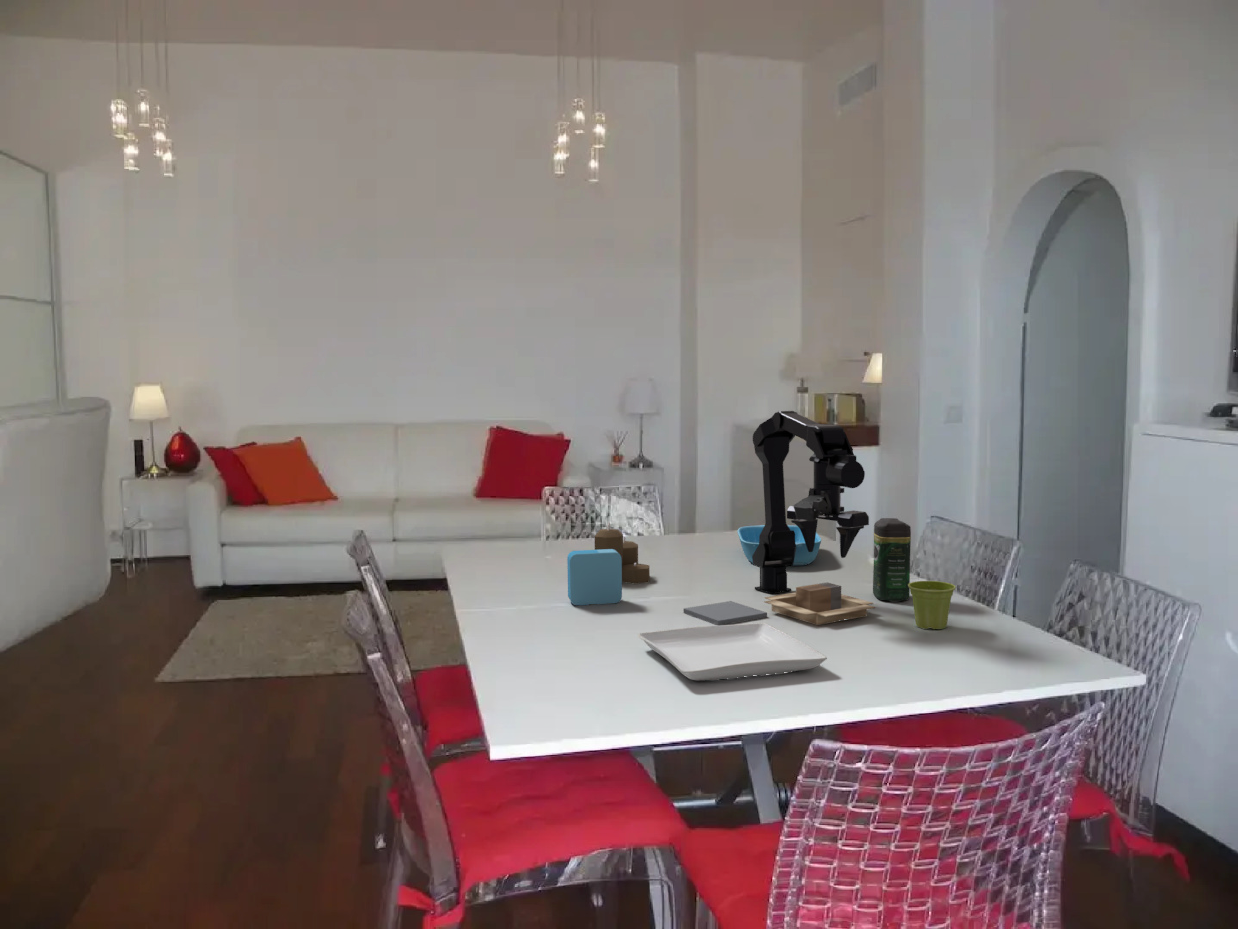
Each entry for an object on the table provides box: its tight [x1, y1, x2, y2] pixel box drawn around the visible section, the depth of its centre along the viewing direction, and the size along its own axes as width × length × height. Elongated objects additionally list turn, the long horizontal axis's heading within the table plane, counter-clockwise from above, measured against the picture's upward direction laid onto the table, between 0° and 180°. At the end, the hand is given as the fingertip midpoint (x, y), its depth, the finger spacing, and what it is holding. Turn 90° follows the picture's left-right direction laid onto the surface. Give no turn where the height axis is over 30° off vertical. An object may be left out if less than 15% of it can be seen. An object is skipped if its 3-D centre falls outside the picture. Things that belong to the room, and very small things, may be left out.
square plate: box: [637, 622, 828, 681], centre depth 189 cm, size 27×27×4 cm
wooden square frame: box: [763, 591, 876, 626], centre depth 224 cm, size 20×19×2 cm
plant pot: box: [908, 580, 957, 630], centre depth 212 cm, size 9×9×9 cm
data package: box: [566, 549, 623, 606], centre depth 236 cm, size 12×4×12 cm, turn 101°
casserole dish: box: [737, 524, 822, 566], centre depth 289 cm, size 37×22×7 cm, turn 176°
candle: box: [594, 521, 650, 584], centre depth 261 cm, size 14×14×15 cm
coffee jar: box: [872, 517, 912, 603], centre depth 237 cm, size 10×8×19 cm
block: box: [795, 582, 842, 613], centre depth 224 cm, size 4×9×6 cm, turn 121°
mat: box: [683, 600, 768, 626], centre depth 224 cm, size 13×13×1 cm
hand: (826, 554), depth 223 cm, fingers open, 9 cm apart
